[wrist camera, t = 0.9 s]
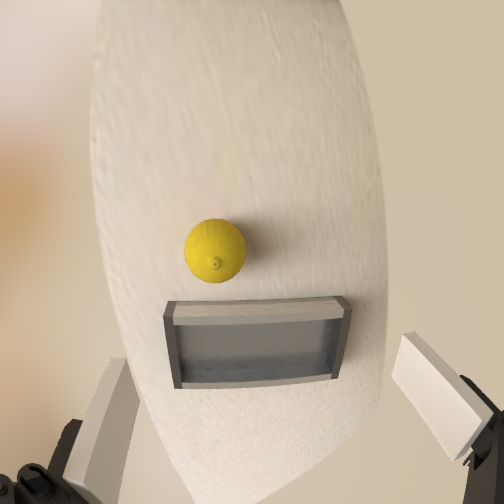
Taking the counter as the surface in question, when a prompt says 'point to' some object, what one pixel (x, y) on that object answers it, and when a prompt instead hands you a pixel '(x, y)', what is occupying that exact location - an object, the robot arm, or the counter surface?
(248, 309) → the tray
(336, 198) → the counter surface
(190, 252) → the lemon
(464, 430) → the robot arm
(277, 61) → the counter surface
